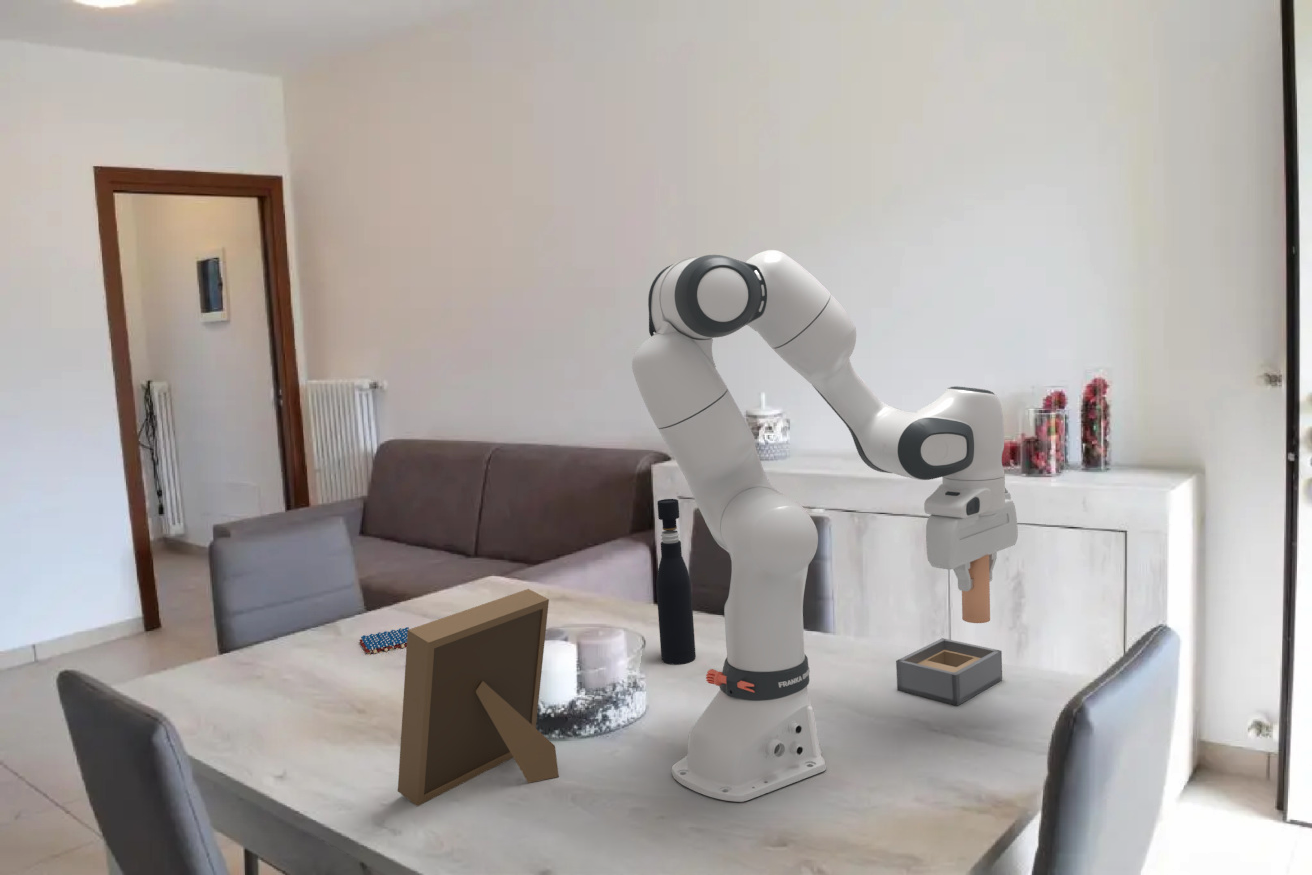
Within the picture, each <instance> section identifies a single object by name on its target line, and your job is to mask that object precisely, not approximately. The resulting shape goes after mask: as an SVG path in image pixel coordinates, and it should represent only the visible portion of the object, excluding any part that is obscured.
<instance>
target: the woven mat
mask: <svg viewBox="0 0 1312 875" xmlns="http://www.w3.org/2000/svg"><path fill="white" fill-rule="evenodd" d="M409 629H410V627H409V626H408V627H405V628H404V627H402V628H399V629H398V628H397V629H396V630H395V629H391V630H388V631H387V630H385V631H384V632H383V631H381V632H380V631H379V632H377V633H375V634H374V633H370V634H366V635H365V634H364V635H362V636H360V638H361V639H359V640H358V641H359V645H360V646H361V647H362V648H363V651H364V652H365V653H367V655H368V656H371V655H372V654H374V655H375V654H378V653H380V654H383V651H384V652H388V651H394V649H396V650H400V649H405V648H407V633H408V630H409Z"/></svg>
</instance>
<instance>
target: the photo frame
mask: <svg viewBox="0 0 1312 875" xmlns="http://www.w3.org/2000/svg"><path fill="white" fill-rule="evenodd" d="M549 602H550V599H549V598H547V597H545V596H543V595H541V594H539V593H537V592H535V591H534V590H532V589H529V588H527V589H524V590H521V591H518V592H515V593H512V594H509V595H506V596H503V597H500V598H498V599H497V598H496V599H495V600H492V601H489V602H486V603H482V604H479V605H477V606H474V607H471V608H468V609H465V610H462V611H459V612H456V613H453V614H451V615H448V616H444V617H441V618H438V619H436V620H433V621H430V622H427V623H424V624H420V625H417V626H415V627H413V628H412V627H411V628H409V630H408V629H407V630H408V633H407V647H406V655H405V666H404V667H405V668H404V685H403V699H402V702H403V703H402V715H401V716H402V717H401V719H402V720H401V731H400V732H401V733H400V745H399V746H400V748H399V749H400V750H399V763H398V764H399V765H398V781H397V792H398V793H399V794H400V795H402V796H403V797H405V799H407V800H408V801H410V803H412V804H414V805H415V806H416V807H419V806H421V805H423V804H424V803H427V802H430V801H431V800H433V799H434V798H437V797H438V796H441V795H443V794H444V793H447V792H448V791H450V790H452V789H454V788H456V787H459V786H460V785H463V784H464V783H466V782H468V781H470V780H472V779H474V778H476V777H478V776H480V775H482V774H485V773H486V772H488V771H490V770H491V769H494V768H495V767H498V766H500V765H501V764H504V763H506V762H507V761H510V760H512V759H514V761H515V763H516V764H517V766H518V768H519V769H520V771H521V773H522V775H523V776H524V778H525V780H526V782H527V783H528V784H530V783H532V784H533V783H537V782H540V781H545V780H549V779H550V780H551V779H555V778H559V768H558V760H557V754H556V753H557V752H556V751H557V750H556V745H555V744H554V742H551V741H550V740H549V738H547V737H546V736H545V735H544V734H543V733H542V732H540V731H539V730H538V729H537V721H538V719H537V718H538V712H539V711H538V710H539V709H538V708H539V700H540V690H541V681H542V679H541V678H542V672H543V671H542V670H543V660H544V653H545V652H544V651H545V642H546V641H545V640H546V632H547V631H546V630H547V622H548V613H549Z"/></svg>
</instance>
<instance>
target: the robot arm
mask: <svg viewBox="0 0 1312 875" xmlns="http://www.w3.org/2000/svg"><path fill="white" fill-rule="evenodd" d="M647 302H648V304H647V306H648V332H649V335H650V337H649V338H647V339H645V340H644V341H643V343H642V344H640V346H639V347H637V349H636V351H635V353H634V355H633V357H632V360H631V362H632V363H631V368H632V373H633V375H634V379H635V381H636V385H637V387H638V390H639V393H640V396H641V397H642V400H643V403H644V405H645V407H646V409H647V411H648V413H649V415H650V417H651V419H652V420H653V423H654V424H655V426H656V428H657V430H658V432H659V433H660V435H661V437H662V439H663V441H664V442H665V445H666V446H667V447H668V450H669V451H670V453H671V455H672V456H673V458H674V460H675V461H676V463H677V465H678V467H679V468H680V471H681V472H682V474H683V476H684V478H685V480H686V483H687V485H688V486H689V489H690V493H691V494H692V496H693V500H695V503H696V506H697V508H698V510H699V511H700V514H701V516H702V518H703V520H704V521H705V525H706V526H707V528H708V530H709V533H711V535H712V538H713V540H714V541H715V542H716V543H717V545H719V547H721V548H722V549H723V550H724V551H726V552H727V553H728V554H729V556H730V560H731V576H730V583H729V584H730V585H729V591H728V596H727V597H728V598H727V599H726V601H725V603H724V607H723V608H724V609H723V610H724V611H723V612H724V614H723V615H724V629H725V641H726V642H725V643H726V646H725V647H726V658H725V659H724V663H723V667H722V671H717V670H716V669H713V668H710V669H709V670H707V673H706V675H705V676H706V677H705V679H706V682H707V683H708V684H709V685H710V684H711V685H715V686H718V687H719V690H718V692H717V693H716V694H715V696H714V697H713V699H711V702H710V703H709V704H708V705H707V707H706V709H705V710H704V711H703V712H702V714H701V715H700V716H699V717H698V719H697V721H696V722H695V723H694V724H693V725H692V727H691V728H690V731H689V735H688V739H687V754H686V755H685V756H684V757H682V759H680V760H678V761H677V762H675V763H674V764H673V765H672V766H671V775H672V777H673V779H675V780H676V781H677V782H678V783H679V784H681V785H682V786H684V787H686V788H688V789H689V790H691V791H694V792H696V793H698V794H702V795H704V796H707V797H709V798H712V799H717V800H721V801H728V802H739V803H743V802H746V801H750V800H752V799H756V798H758V797H760V796H762V795H765V794H767V793H771V792H774V791H776V790H778V789H781V788H784V787H786V786H789V785H791V784H794V783H796V782H799V781H803V780H804V779H806V778H810V777H813V776H815V775H817V774H820V773H822V772H824V771H825V770H827V769H826V768H827V767H826V761H825V759H824V757H823V756H822V748H821V745H820V743H819V738H818V737H819V736H818V731H817V724H816V718H815V712H814V708H813V705H812V700H811V699H810V695H809V690H808V689H809V688H808V686H809V683H810V667H809V658H808V655H806V654H805V634H804V632H805V631H804V616H803V614H804V607H803V606H804V595H805V588H806V581H807V577H808V576H807V575H808V569H809V565H810V563H811V562H812V560H813V559H814V557H815V555H816V552H817V549H818V544H819V534H818V533H819V532H818V529H817V527H816V524H815V522H814V520H813V518H812V517H811V516H810V514H809V513H808V512H807V511H806V509H805V508H804V506H802V505H801V504H800V503H799V501H797V500H795V499H794V498H793V497H790V496H788V495H786V494H783V493H781V492H779V491H778V490H777V489H776V488H775V487H774V486H773V484H772V483H771V482H770V481H769V479H768V477H767V475H766V472H765V470H764V467H763V465H762V462H761V459H760V456H759V454H758V451H757V447H756V440H755V436H754V433H753V432H752V430H751V428H750V426H749V424H748V423H747V420H746V419H745V417H744V416H743V413H742V412H741V411H740V408H739V407H738V404H737V403H736V401H735V399H734V398H733V396H732V394H731V392H730V390H729V388H728V387H727V385H726V383H725V381H724V379H723V378H722V375H720V373H719V371H718V370H717V366H716V363H715V361H714V360H715V359H714V357H713V356H714V355H713V341H714V340H713V339H715V338H723V337H725V336H729V335H732V334H734V333H735V332H738V331H739V330H740V329H743V327H745V326H748V327H750V329H752V330H754V331H755V332H757V333H758V334H759V336H760V337H761V338H762V340H764V341H765V343H766V344H767V346H769V347H770V348H771V349H772V350H773V351H774V352H775V353H776V354H777V355H778V356H779V357H780V358H781V359H782V360H783V361H784V362H785V363H786V364H787V365H788V366H790V367H791V368H792V369H793V370H794V371H795V372H797V373H798V374H799V375H800V376H801V377H803V378H804V379H805V380H806V381H807V382H808V383H809V384H811V386H812V387H813V388H814V389H815V390H816V392H817V393H818V394H819V395H820V396H821V398H822V399H823V400H824V401H825V402H826V403H827V405H828V406H829V407H830V408H831V409H832V410H833V411H834V413H835V414H836V415H837V416H838V417H839V419H840V420H841V421H842V422H843V423H844V424H845V426H846V428H847V429H848V430H849V433H850V435H851V437H852V440H853V443H854V446H855V448H856V451H857V454H858V455H859V457H860V459H861V460H862V461H863V462H864V464H866V466H868V468H871V469H873V470H875V471H877V472H880V473H884V474H885V473H886V474H894V475H898V476H901V477H906V478H908V479H909V478H910V479H912V480H916V481H928V480H934V479H938V478H942V483H941V484H940V485H938V487H937V488H936V490H935V491H934V492H933V493H932V494H930V496H928V497H927V498H926V499H925V501H924V504H923V506H924V507H923V508H924V514H926V515H927V514H928V515H929V517H928V518H927V520H926V524H925V543H926V544H925V545H926V548H925V549H926V556H927V557H926V558H927V561H928V562H929V564H930V566H931V567H932V568H936V569H942V570H949V571H951V570H953V572H954V574H955V576H956V579H957V588H958V590H959V591H961V592H962V591H969V590H971V589H973V588H974V585H973V583H974V578H970V574H969V571H968V569H970V562H972V561H974V560H977V559H980V558H981V557H983V556H986V555H988V554H989V580H990V582H993V570H994V568H995V565H996V562H997V559H998V558H997V557H998V556H997V553H999V552H1000V551H1003V550H1005V549H1008V548H1010V547H1013V546H1015V545H1016V543H1017V540H1018V539H1019V538H1018V536H1019V531H1018V518H1017V517H1018V516H1017V511H1016V510H1017V509H1016V505H1015V502H1014V501H1013V500H1011V498H1012V497H1011V493H1010V492H1009V491H1008V489H1007V487H1006V486H1005V484H1006V481H1005V480H1006V478H1005V477H1006V476H1005V469H1004V467H1003V463H1002V462H1003V460H1002V459H1003V458H1002V457H1003V452H1004V450H1005V430H1004V429H1005V428H1004V426H1005V425H1004V417H1003V411H1002V406H1001V401H1000V399H999V397H998V395H997V394H995V393H994V392H993V391H991V390H988V389H983V388H975V387H966V386H958V385H957V386H950V387H946V389H945V391H944V392H943V393H942V394H941V395H940V396H939V397H938V398H937V399H935V400H934V401H933V402H931V403H930V404H927V405H926V406H924V407H922V408H920V409H917V410H915V412H913V411H907V410H902V409H899V408H896V407H894V406H890V405H889V404H887V403H885V402H883V401H882V400H881V399H880V398H879V397H878V396H877V394H875V392H874V391H873V390H872V389H871V387H869V385H868V384H867V383H866V382H865V381H864V379H863V378H862V377H861V376H860V374H859V373H858V372H857V370H856V369H854V367H853V365H852V362H851V360H850V358H851V356H852V355H853V352H854V350H855V347H856V341H857V330H856V326H855V324H854V322H853V321H852V319H851V317H850V316H849V314H848V312H847V311H846V310H845V308H844V307H843V305H841V303H840V302H839V301H838V300H837V298H836V297H835V296H834V295H833V294H832V293H831V292H830V291H829V290H828V289H827V288H826V287H825V286H824V285H823V284H822V283H821V282H820V281H819V280H818V279H817V278H816V277H815V276H814V275H813V274H811V273H810V271H808V270H807V269H806V268H805V267H803V266H802V265H801V264H800V263H798V262H797V261H796V260H794V259H793V258H792V257H790V256H789V255H788V254H786V253H784V252H782V251H780V250H777V249H767V250H764V251H760V252H759V253H755V255H752V256H751V257H750V258H748V259H747V260H746V261H742V260H738V259H736V258H732V257H730V256H725V255H722V254H721V255H720V254H708V255H703V256H691V257H687V258H683V259H681V260H679V261H677V262H676V263H672V264H671V265H668V266H666V267H665V268H663V269H662V270H661V271H660V272H659V273H658V274H657V275H656V276H655V278H654V280H653V281H652V283H651V284H650V288H649V292H648V299H647Z"/></svg>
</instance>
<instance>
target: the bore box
mask: <svg viewBox="0 0 1312 875" xmlns="http://www.w3.org/2000/svg"><path fill="white" fill-rule="evenodd" d="M1002 652H1003V651H1002V650H1000V649H995V648H991V647H990V648H989V647H987V646H986V647H985V646H982V645H981V646H980V645H976V644H973V643H967V642H964V641H963V642H961V641H957V640H953V639H948V638H942V637H941V638H939V639H938V640H935V641H934V642H931V643H930V644H927V645H925V646H923V647H922V648H919V649H917V650H915V651H914V652H911V653H909V654H907V655H905V656H902V657H901V658H899V659H897V660H896V661H895V664H896V666H895V668H896V669H895V670H896V686H897V687H896V688H897V691H899V692H902V693H907V694H911V695H915V696H918V697H922V698H926V699H930V700H934V701H938V702H941V703H944V704H948V705H952V706H956V707H958V706H960V705H961V704H963V703H965V702H967V701H968V700H970V699H972V698H974V697H975V696H977V695H979V694H980V693H982V692H984V691H986V690H988V689H990V688H991V687H992V686H994V685H996V684H998V683H999V682H1001V681H1002V680H1003V660H1002V659H1003V658H1002V654H1003V653H1002Z"/></svg>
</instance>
